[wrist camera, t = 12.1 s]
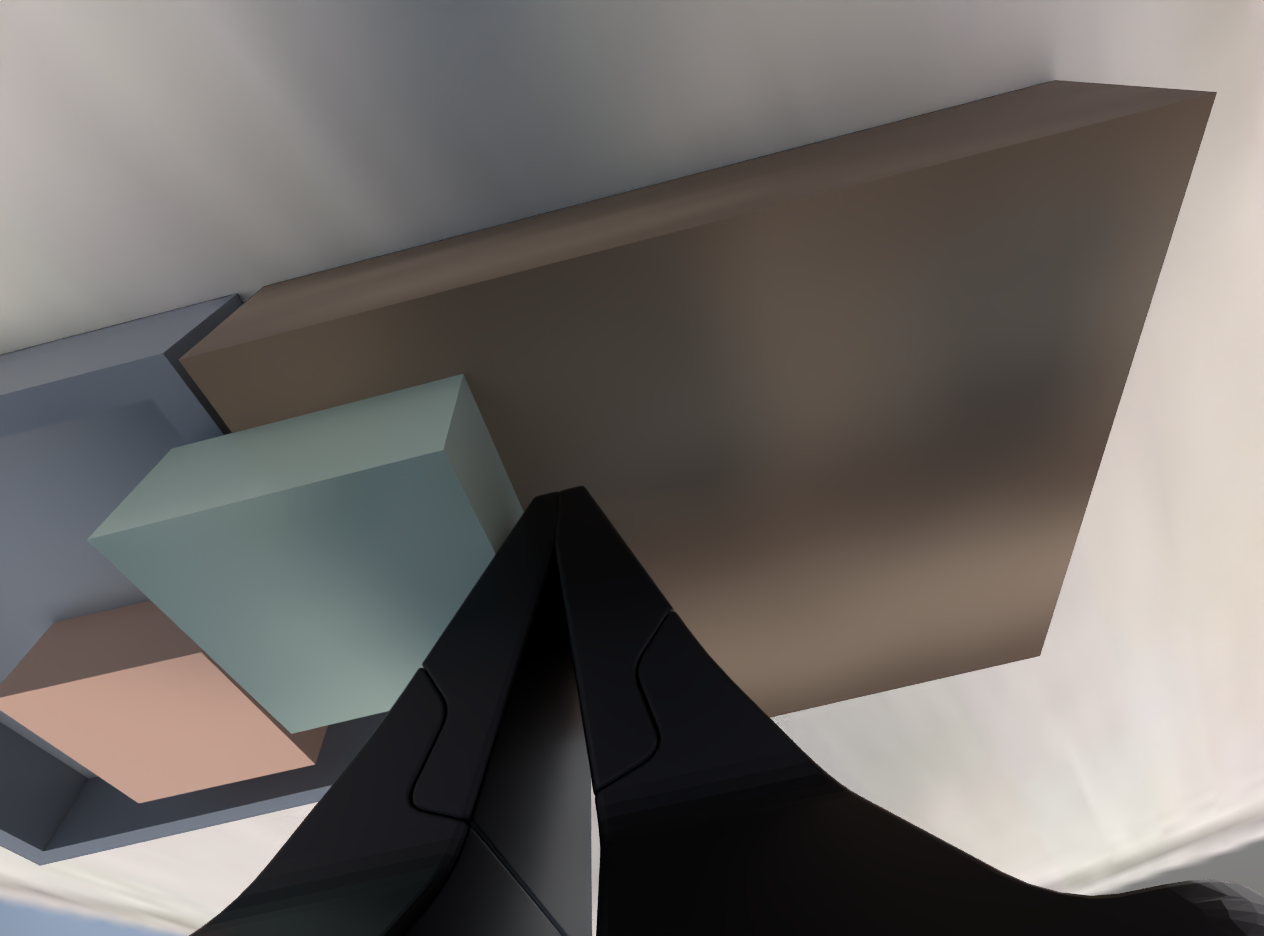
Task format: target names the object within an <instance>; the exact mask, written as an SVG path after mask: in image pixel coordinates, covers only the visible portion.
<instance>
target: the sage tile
mask: <svg viewBox="0 0 1264 936" xmlns="http://www.w3.org/2000/svg"><path fill="white" fill-rule="evenodd" d="M523 513H524V511H523V509H522V507H521V505H520V502H519V500H518V498H517V495H516V493H515V491H514V489H513V486H512V484H511V482H510V479H509V477H508V475H507V473H506V470H505V468H504V466H503V463H502V461H501V459H500V457H499V454H498V452H497V450H496V447H495V445H494V443H493V441H492V438H491V436H490V434H489V431H488V429H487V427H486V425H485V422H484V420H483V418H482V415H481V413H480V411H479V409H478V406H477V404H476V402H475V399H474V397H473V395H472V392H471V390H470V388H469V386H468V383H467V381H466V379H465V376H464V374H461V375H457V376H453V377H449V378H445V379H441V380H437V381H433V382H430V383H426V384H422V385H418V386H414V387H410V388H406V389H402V390H398V391H394V392H391V393H387V394H383V395H379V396H375V397H371V398H367V399H363V400H360V401H356V402H352V403H348V404H344V405H340V406H336V407H332V408H328V409H325V410H321V411H317V412H313V413H309V414H305V415H301V416H297V417H294V418H290V419H286V420H282V421H278V422H274V423H270V424H266V425H262V426H259V427H255V428H251V429H247V430H243V431H239V432H235V433H231V434H227V435H223V436H219V437H215V438H211V439H207V440H204V441H200V442H196V443H192V444H188V445H184V446H180V447H176V448H172V449H171V450H170V451H169V452H168V453H167V454H166V455H165V456H164V457H163V458H162V460H161V461H160V462H159V463H158V464H157V465H156V466H155V467H154V468H153V469H152V470H151V471H150V472H149V473H148V475H147V476H146V477H145V478H144V479H143V480H142V481H141V482H140V483H139V484H138V485H137V486H136V487H135V488H134V490H133V491H132V492H131V493H130V494H129V495H128V496H127V497H126V498H125V499H124V500H123V501H122V502H121V503H120V505H119V506H118V507H117V508H116V509H115V510H114V511H113V512H112V513H111V514H110V515H109V516H108V517H107V518H106V520H105V521H104V522H103V523H102V524H101V525H100V526H99V527H98V528H97V529H96V530H95V531H94V532H93V533H92V535H91V536H90V537H89V538H88V539H87V540H88V541H89V542H90V543H91V544H92V545H93V546H94V547H95V548H96V549H97V550H98V551H99V552H100V553H101V554H102V555H103V556H104V557H105V558H107V559H108V560H109V561H110V562H111V563H112V564H113V565H114V566H115V567H116V568H117V569H118V570H119V571H120V572H121V573H122V574H123V575H124V576H126V577H127V578H128V579H129V580H130V581H131V582H132V583H133V584H134V585H135V586H136V587H137V588H138V589H139V590H140V591H141V592H142V593H143V594H145V595H146V596H147V597H148V598H149V599H150V600H151V601H152V602H153V603H154V604H155V605H156V606H157V607H158V608H159V609H160V610H161V611H162V612H164V613H165V614H166V615H167V616H168V617H169V618H170V619H171V620H172V621H173V622H174V623H175V624H176V625H177V626H178V627H179V628H180V629H181V630H182V631H184V632H185V633H186V634H187V635H188V636H189V637H190V638H191V639H192V640H193V641H194V642H195V643H196V644H197V645H198V646H199V647H200V648H201V649H203V650H204V651H205V652H206V653H207V654H208V655H209V656H210V657H211V658H212V659H213V660H214V661H215V662H216V663H217V664H218V665H219V666H220V667H222V668H223V669H224V670H225V671H226V672H227V673H228V674H229V675H230V676H231V677H232V678H233V679H234V680H235V681H236V682H237V683H238V684H239V685H241V686H242V687H243V688H244V689H245V690H246V691H247V692H248V693H249V694H250V695H251V696H252V697H253V698H254V699H255V700H256V701H257V702H258V703H260V704H261V705H262V706H263V707H264V708H265V709H266V710H267V711H268V712H269V713H270V714H271V715H272V716H273V717H274V718H275V719H276V720H277V721H278V722H280V723H281V724H282V725H283V726H284V727H285V728H286V729H287V730H288V731H289V732H290V733H291V734H293V733H297V732H301V731H305V730H310V729H314V728H318V727H322V726H327V725H331V724H335V723H339V722H344V721H348V720H352V719H356V718H361V717H365V716H369V715H373V714H378V713H382V712H386V711H389V710H390V709H391V707H392V706H393V705H394V703H395V702H396V700H397V699H398V698H399V696H400V695H401V693H402V692H403V691H404V689H405V688H406V686H407V685H408V683H409V682H410V680H411V679H412V677H413V676H414V674H415V673H416V671H417V670H418V669H419V668H423V666H422V663H423V661H424V660H425V658H426V657H427V655H428V654H429V652H430V651H431V649H432V648H433V646H434V645H435V643H436V642H437V640H438V639H439V637H440V636H441V634H442V633H443V631H444V630H445V628H446V627H447V626H448V624H449V623H450V621H451V620H452V618H453V617H454V615H455V614H456V612H457V611H458V609H459V608H460V606H461V605H462V603H463V602H464V600H465V599H466V597H467V596H468V594H469V593H470V591H471V590H472V588H473V587H474V585H475V584H476V582H477V581H478V579H479V578H480V576H481V575H482V574H483V572H484V571H485V569H486V568H487V566H488V565H489V563H490V562H491V560H492V559H493V557H494V556H495V554H496V553H497V551H498V550H499V548H500V547H501V545H502V544H503V542H504V541H505V539H506V538H507V536H508V535H509V533H510V532H511V530H512V529H513V527H514V526H515V524H516V523H517V521H518V520H519V519H520V517H521V516H522V514H523Z"/></svg>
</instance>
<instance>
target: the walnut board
mask: <svg viewBox="0 0 1264 936" xmlns="http://www.w3.org/2000/svg"><path fill="white" fill-rule="evenodd" d="M1216 93H1217V92H1207V91H1193V90H1180V89H1166V88H1153V87H1139V86H1126V85H1112V84H1098V83H1085V82H1071V81H1058V80H1055V81H1051V82H1047V83H1043V84H1039V85H1035V86H1032V87H1028V88H1024V89H1020V90H1016V91H1012V92H1009V93H1005V94H1001V95H997V96H993V97H989V98H986V99H982V100H978V101H974V102H970V103H966V104H963V105H959V106H955V107H951V108H947V109H943V110H940V111H936V112H932V113H928V114H924V115H920V116H917V117H913V118H909V119H905V120H901V121H897V122H893V123H890V124H886V125H882V126H878V127H874V128H870V129H867V130H863V131H859V132H855V133H851V134H847V135H844V136H840V137H836V138H832V139H828V140H824V141H821V142H817V143H813V144H809V145H805V146H801V147H798V148H794V149H790V150H786V151H782V152H778V153H775V154H771V155H767V156H763V157H759V158H755V159H752V160H748V161H744V162H740V163H736V164H732V165H729V166H725V167H721V168H717V169H713V170H709V171H705V172H702V173H698V174H694V175H690V176H686V177H682V178H679V179H675V180H671V181H667V182H663V183H659V184H656V185H652V186H648V187H644V188H640V189H636V190H633V191H629V192H625V193H621V194H617V195H613V196H610V197H606V198H602V199H598V200H594V201H590V202H587V203H583V204H579V205H575V206H571V207H567V208H564V209H560V210H556V211H552V212H548V213H544V214H541V215H537V216H533V217H529V218H525V219H521V220H518V221H514V222H510V223H506V224H502V225H498V226H494V227H491V228H487V229H483V230H479V231H475V232H471V233H468V234H464V235H460V236H456V237H452V238H448V239H445V240H441V241H437V242H433V243H429V244H425V245H422V246H418V247H414V248H410V249H406V250H402V251H399V252H395V253H391V254H387V255H383V256H379V257H376V258H372V259H368V260H364V261H360V262H356V263H353V264H349V265H345V266H341V267H337V268H333V269H330V270H326V271H322V272H318V273H314V274H310V275H306V276H303V277H299V278H295V279H291V280H287V281H283V282H280V283H276V284H272V285H268V286H264V287H263V288H262V289H261V290H259V291H258V292H257V293H256V294H255V295H253V296H252V297H251V298H250V299H249V300H248V301H246V302H245V303H244V304H243V305H242V306H241V307H239V308H238V309H237V310H236V311H235V312H234V313H232V314H231V315H230V316H229V317H228V318H227V319H225V320H224V321H223V322H222V323H221V324H220V325H218V326H217V327H216V328H215V329H214V330H213V331H211V332H210V333H209V334H208V335H207V336H206V337H204V338H203V339H202V340H201V341H200V342H198V343H197V344H196V345H195V346H194V347H193V348H191V349H190V350H189V351H188V352H187V353H186V354H184V355H183V356H182V357H181V358H180V359H179V361H180V363H181V364H182V365H183V367H184V368H185V369H186V371H187V372H188V374H189V375H190V376H191V378H192V379H193V380H194V382H195V383H196V384H197V386H198V387H199V388H200V390H201V391H202V392H203V394H204V395H205V397H206V398H207V399H208V401H209V402H210V403H211V405H212V406H213V407H214V409H215V410H216V411H217V413H218V414H219V416H220V417H221V418H222V420H223V421H224V422H225V424H226V425H227V426H228V428H229V429H230V430H231V432H232V433H235V432H239V431H243V430H247V429H251V428H255V427H259V426H262V425H266V424H270V423H274V422H278V421H282V420H286V419H290V418H294V417H297V416H301V415H305V414H309V413H313V412H317V411H321V410H325V409H328V408H332V407H336V406H340V405H344V404H348V403H352V402H356V401H360V400H363V399H367V398H371V397H375V396H379V395H383V394H387V393H391V392H394V391H398V390H402V389H406V388H410V387H414V386H418V385H422V384H426V383H430V382H433V381H437V380H441V379H445V378H449V377H453V376H457V375H461V374H464V376H465V379H466V381H467V383H468V386H469V388H470V390H471V392H472V395H473V397H474V399H475V402H476V404H477V406H478V409H479V411H480V413H481V415H482V418H483V420H484V422H485V425H486V427H487V429H488V431H489V434H490V436H491V438H492V441H493V443H494V445H495V447H496V450H497V452H498V454H499V457H500V459H501V461H502V463H503V466H504V468H505V470H506V473H507V475H508V477H509V479H510V482H511V484H512V486H513V489H514V491H515V493H516V495H517V498H518V500H519V502H520V505H521V507H522V509H523V511H525V510H526V508H527V507H528V505H529V504H530V502H531V501H532V499H533V498H534V497H536V496H538V495H543V494H547V493H551V492H556V491H558V492H560V491H561V490H564V489H569V488H573V487H577V486H584V487H586V489H587V490H588V491H589V493H590V494H591V495H592V497H593V498H594V500H595V501H596V502H597V504H598V505H599V506H600V508H601V509H602V511H603V512H604V513H605V515H606V516H607V517H608V519H609V520H610V522H611V523H612V524H613V526H614V527H615V529H616V530H617V531H618V533H619V534H620V535H621V537H622V538H623V540H624V541H625V542H626V544H627V545H628V546H629V548H630V549H631V551H632V552H633V553H634V555H635V556H636V558H637V559H638V560H639V562H640V563H641V564H642V566H643V567H644V569H645V570H646V571H647V573H648V574H649V575H650V577H651V578H652V580H653V581H654V582H655V584H656V585H657V587H658V588H659V589H660V591H661V592H662V593H663V595H664V596H665V598H666V599H667V600H668V602H669V603H670V605H671V606H672V607H673V609H674V611H675V612H677V614H678V615H679V616H680V618H681V619H682V621H683V622H684V623H685V625H686V626H687V627H688V629H689V630H690V631H691V633H692V634H693V635H694V636H695V638H696V639H697V640H698V641H699V643H700V644H701V645H702V647H703V648H704V649H705V650H706V652H707V653H708V654H709V655H710V656H711V657H712V658H713V660H714V661H715V662H716V663H717V664H718V665H719V666H720V667H721V668H722V669H723V670H724V672H725V673H726V674H727V675H728V676H729V677H730V678H731V679H732V680H733V681H734V682H735V683H736V684H737V685H738V686H739V687H740V688H741V689H742V690H743V691H744V692H745V693H746V694H747V695H748V696H749V697H750V698H751V699H752V700H753V701H754V702H755V703H756V704H757V705H758V706H759V707H760V708H761V709H762V710H763V711H764V712H765V713H766V714H767V715H768V716H769V717H774V716H778V715H783V714H787V713H791V712H796V711H800V710H805V709H809V708H813V707H818V706H822V705H827V704H831V703H835V702H840V701H844V700H848V699H853V698H857V697H862V696H866V695H870V694H875V693H879V692H884V691H888V690H892V689H897V688H901V687H905V686H910V685H914V684H919V683H923V682H927V681H932V680H936V679H941V678H945V677H949V676H954V675H958V674H962V673H967V672H971V671H976V670H980V669H984V668H989V667H993V666H998V665H1002V664H1006V663H1011V662H1015V661H1019V660H1024V659H1028V658H1033V657H1037V656H1040V654H1041V651H1042V648H1043V644H1044V641H1045V638H1046V635H1047V632H1048V628H1049V625H1050V622H1051V619H1052V616H1053V612H1054V609H1055V606H1056V603H1057V600H1058V597H1059V593H1060V590H1061V587H1062V584H1063V581H1064V577H1065V574H1066V571H1067V568H1068V565H1069V562H1070V558H1071V555H1072V552H1073V549H1074V546H1075V542H1076V539H1077V536H1078V533H1079V530H1080V526H1081V523H1082V520H1083V517H1084V514H1085V511H1086V507H1087V504H1088V501H1089V498H1090V495H1091V491H1092V488H1093V485H1094V482H1095V479H1096V476H1097V472H1098V469H1099V466H1100V463H1101V460H1102V456H1103V453H1104V450H1105V447H1106V444H1107V440H1108V437H1109V434H1110V431H1111V428H1112V425H1113V421H1114V418H1115V415H1116V412H1117V409H1118V405H1119V402H1120V399H1121V396H1122V393H1123V389H1124V386H1125V383H1126V380H1127V377H1128V374H1129V370H1130V367H1131V364H1132V361H1133V358H1134V354H1135V351H1136V348H1137V345H1138V342H1139V339H1140V335H1141V332H1142V329H1143V326H1144V323H1145V319H1146V316H1147V313H1148V310H1149V307H1150V303H1151V300H1152V297H1153V294H1154V291H1155V288H1156V284H1157V281H1158V278H1159V275H1160V272H1161V268H1162V265H1163V262H1164V259H1165V256H1166V253H1167V249H1168V246H1169V243H1170V240H1171V237H1172V233H1173V230H1174V227H1175V224H1176V221H1177V217H1178V214H1179V211H1180V208H1181V205H1182V202H1183V198H1184V195H1185V192H1186V189H1187V186H1188V182H1189V179H1190V176H1191V173H1192V170H1193V166H1194V163H1195V160H1196V157H1197V154H1198V151H1199V147H1200V144H1201V141H1202V138H1203V135H1204V131H1205V128H1206V125H1207V122H1208V119H1209V116H1210V112H1211V109H1212V106H1213V103H1214V100H1215V96H1216Z"/></svg>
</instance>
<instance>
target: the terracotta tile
mask: <svg viewBox="0 0 1264 936" xmlns="http://www.w3.org/2000/svg"><path fill="white" fill-rule="evenodd" d="M0 710H1V711H2V712H4V713H5V714H7V715H8V716H10V717H11V718H13V719H14V720H16V721H17V722H19V723H20V724H22V725H23V726H25V727H26V728H28V729H29V730H31V731H32V732H34V733H35V734H36V735H38V736H39V737H41V738H42V739H44V740H45V741H47V742H48V743H50V744H51V745H53V746H54V747H56V748H57V749H59V750H60V751H62V752H63V753H65V754H66V755H68V756H69V757H71V758H72V759H74V760H75V761H77V762H78V763H79V764H81V765H82V766H84V767H85V768H87V769H88V770H90V771H91V772H93V773H94V774H96V775H97V776H99V777H100V778H102V779H103V780H105V781H106V782H108V783H109V784H111V785H112V786H114V787H115V788H117V789H118V790H120V791H121V792H123V793H124V794H125V795H127V796H128V797H130V798H131V799H133V800H134V801H136V802H137V803H143V802H147V801H152V800H156V799H161V798H166V797H170V796H175V795H179V794H184V793H188V792H193V791H197V790H202V789H206V788H211V787H215V786H220V785H224V784H229V783H233V782H238V781H243V780H247V779H252V778H256V777H261V776H265V775H270V774H274V773H279V772H283V771H288V770H292V769H297V768H301V767H306V766H311V765H315V764H316V761H317V758H318V755H319V752H320V749H321V746H322V743H323V739H324V736H325V733H326V730H327V727H328V725H327V726H322V727H318V728H314V729H310V730H305V731H301V732H297V733H293V734H291V733H290V732H289V731H288V730H287V729H286V728H285V727H284V726H283V725H282V724H281V723H280V722H278V721H277V720H276V719H275V718H274V717H273V716H272V715H271V714H270V713H269V712H268V711H267V710H266V709H265V708H264V707H263V706H262V705H261V704H260V703H258V702H257V701H256V700H255V699H254V698H253V697H252V696H251V695H250V694H249V693H248V692H247V691H246V690H245V689H244V688H243V687H242V686H241V685H239V684H238V683H237V682H236V681H235V680H234V679H233V678H232V677H231V676H230V675H229V674H228V673H227V672H226V671H225V670H224V669H223V668H222V667H220V666H219V665H218V664H217V663H216V662H215V661H214V660H213V659H212V658H211V657H210V656H209V655H208V654H207V653H206V652H205V651H204V650H203V649H201V648H200V647H199V646H198V645H197V644H196V643H195V642H194V641H193V640H192V639H191V638H190V637H189V636H188V635H187V634H186V633H185V632H184V631H182V630H181V629H180V628H179V627H178V626H177V625H176V624H175V623H174V622H173V621H172V620H171V619H170V618H169V617H168V616H167V615H166V614H165V613H164V612H162V611H161V610H160V609H159V608H158V607H157V606H156V605H155V604H154V603H153V602H152V601H151V600H150V601H146V602H141V603H137V604H133V605H128V606H124V607H120V608H115V609H111V610H106V611H102V612H98V613H93V614H89V615H85V616H80V617H76V618H72V619H67V620H63V621H58V622H54V623H53V624H52V625H51V626H50V627H49V628H48V630H47V631H46V632H45V633H44V634H43V635H42V637H41V638H40V639H39V640H38V641H37V642H36V644H35V645H34V646H33V647H32V648H31V649H30V651H29V652H28V653H27V654H26V655H25V656H24V658H23V659H22V660H21V661H20V662H19V663H18V665H17V666H16V667H15V668H14V669H13V671H12V672H11V673H10V674H9V675H8V676H7V678H6V679H5V680H4V681H3V682H2V683H1V685H0Z"/></svg>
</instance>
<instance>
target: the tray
mask: <svg viewBox="0 0 1264 936" xmlns="http://www.w3.org/2000/svg"><path fill="white" fill-rule="evenodd" d="M242 305H243V302H242V301H241V299H240V298H239V296H238V294H234V295H230V296H226V297H222V298H218V299H214V300H211V301H207V302H203V303H199V304H195V305H191V306H188V307H184V308H180V309H176V310H172V311H168V312H165V313H161V314H157V315H153V316H149V317H145V318H142V319H138V320H134V321H130V322H126V323H122V324H118V325H115V326H111V327H107V328H103V329H99V330H95V331H92V332H88V333H84V334H80V335H76V336H72V337H69V338H65V339H61V340H57V341H53V342H49V343H46V344H42V345H38V346H34V347H30V348H26V349H23V350H19V351H15V352H11V353H7V354H3V355H0V685H1V683H2V682H3V681H4V680H5V679H6V678H7V676H8V675H9V674H10V673H11V672H12V671H13V669H14V668H15V667H16V666H17V665H18V663H19V662H20V661H21V660H22V659H23V658H24V656H25V655H26V654H27V653H28V652H29V651H30V649H31V648H32V647H33V646H34V645H35V644H36V642H37V641H38V640H39V639H40V638H41V637H42V635H43V634H44V633H45V632H46V631H47V630H48V628H49V627H50V626H51V625H52V624H53V623H54V622H58V621H63V620H67V619H72V618H76V617H80V616H85V615H89V614H93V613H98V612H102V611H106V610H111V609H115V608H120V607H124V606H128V605H133V604H137V603H141V602H146V601H150V599H149V598H148V597H147V596H146V595H145V594H143V593H142V592H141V591H140V590H139V589H138V588H137V587H136V586H135V585H134V584H133V583H132V582H131V581H130V580H129V579H128V578H127V577H126V576H124V575H123V574H122V573H121V572H120V571H119V570H118V569H117V568H116V567H115V566H114V565H113V564H112V563H111V562H110V561H109V560H108V559H107V558H105V557H104V556H103V555H102V554H101V553H100V552H99V551H98V550H97V549H96V548H95V547H94V546H93V545H92V544H91V543H90V542H89V541H88V540H87V539H88V538H89V537H90V536H91V535H92V533H93V532H94V531H95V530H96V529H97V528H98V527H99V526H100V525H101V524H102V523H103V522H104V521H105V520H106V518H107V517H108V516H109V515H110V514H111V513H112V512H113V511H114V510H115V509H116V508H117V507H118V506H119V505H120V503H121V502H122V501H123V500H124V499H125V498H126V497H127V496H128V495H129V494H130V493H131V492H132V491H133V490H134V488H135V487H136V486H137V485H138V484H139V483H140V482H141V481H142V480H143V479H144V478H145V477H146V476H147V475H148V473H149V472H150V471H151V470H152V469H153V468H154V467H155V466H156V465H157V464H158V463H159V462H160V461H161V460H162V458H163V457H164V456H165V455H166V454H167V453H168V452H169V451H170V450H171V449H172V448H176V447H180V446H184V445H188V444H192V443H196V442H200V441H204V440H207V439H211V438H215V437H219V436H223V435H227V434H231V433H232V432H231V430H230V429H229V428H228V426H227V425H226V424H225V422H224V421H223V420H222V418H221V417H220V416H219V414H218V413H217V411H216V410H215V409H214V407H213V406H212V405H211V403H210V402H209V401H208V399H207V398H206V397H205V395H204V394H203V392H202V391H201V390H200V388H199V387H198V386H197V384H196V383H195V382H194V380H193V379H192V378H191V376H190V375H189V374H188V372H187V371H186V369H185V368H184V367H183V365H182V364H181V363H180V361H179V359H180V358H181V357H182V356H183V355H184V354H186V353H187V352H188V351H189V350H190V349H191V348H193V347H194V346H195V345H196V344H197V343H198V342H200V341H201V340H202V339H203V338H204V337H206V336H207V335H208V334H209V333H210V332H211V331H213V330H214V329H215V328H216V327H217V326H218V325H220V324H221V323H222V322H223V321H224V320H225V319H227V318H228V317H229V316H230V315H231V314H232V313H234V312H235V311H236V310H237V309H238V308H239V307H241V306H242ZM388 712H389V711H386V712H382V713H378V714H373V715H369V716H365V717H361V718H356V719H352V720H348V721H344V722H339V723H335V724H331V725H328V727H327V730H326V733H325V736H324V739H323V743H322V746H321V749H320V752H319V755H318V758H317V761H316V764H315V765H311V766H306V767H301V768H297V769H292V770H288V771H283V772H279V773H274V774H270V775H265V776H261V777H256V778H252V779H247V780H243V781H238V782H233V783H229V784H224V785H220V786H215V787H211V788H206V789H202V790H197V791H193V792H188V793H184V794H179V795H175V796H170V797H166V798H161V799H156V800H152V801H147V802H143V803H137V802H136V801H134V800H133V799H131V798H130V797H128V796H127V795H125V794H124V793H123V792H121V791H120V790H118V789H117V788H115V787H114V786H112V785H111V784H109V783H108V782H106V781H105V780H103V779H102V778H100V777H99V776H97V775H96V774H94V773H93V772H91V771H90V770H88V769H87V768H85V767H84V766H82V765H81V764H79V763H78V762H77V761H75V760H74V759H72V758H71V757H69V756H68V755H66V754H65V753H63V752H62V751H60V750H59V749H57V748H56V747H54V746H53V745H51V744H50V743H48V742H47V741H45V740H44V739H42V738H41V737H39V736H38V735H36V734H35V733H34V732H32V731H31V730H29V729H28V728H26V727H25V726H23V725H22V724H20V723H19V722H17V721H16V720H14V719H13V718H11V717H10V716H8V715H7V714H5V713H4V712H2V711H1V710H0V846H2V847H4V848H6V849H8V850H10V851H12V852H14V853H16V854H18V855H20V856H22V857H24V858H26V859H28V860H30V861H32V862H34V863H36V864H38V865H44V864H49V863H53V862H58V861H62V860H66V859H71V858H75V857H79V856H84V855H88V854H92V853H97V852H101V851H106V850H110V849H114V848H119V847H123V846H127V845H132V844H136V843H140V842H145V841H149V840H154V839H158V838H162V837H167V836H171V835H175V834H180V833H184V832H188V831H193V830H197V829H202V828H206V827H210V826H215V825H219V824H223V823H228V822H232V821H236V820H241V819H245V818H249V817H254V816H258V815H263V814H267V813H271V812H276V811H280V810H284V809H289V808H293V807H297V806H302V805H306V804H311V803H315V802H319V801H320V799H321V798H322V797H323V796H324V794H325V793H326V792H327V791H328V789H329V788H330V787H331V786H332V784H333V783H334V782H335V781H336V780H337V778H338V777H339V776H340V775H341V773H342V772H343V771H344V770H345V768H346V767H347V766H348V765H349V763H350V762H351V761H352V759H353V758H354V757H355V756H356V754H357V753H358V752H359V750H360V749H361V748H362V747H363V745H364V744H365V743H366V741H367V740H368V739H369V737H370V736H371V735H372V734H373V732H374V731H375V730H376V728H377V727H378V726H379V724H380V723H381V722H382V720H383V719H384V717H385V716H386V715H387V713H388Z"/></svg>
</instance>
